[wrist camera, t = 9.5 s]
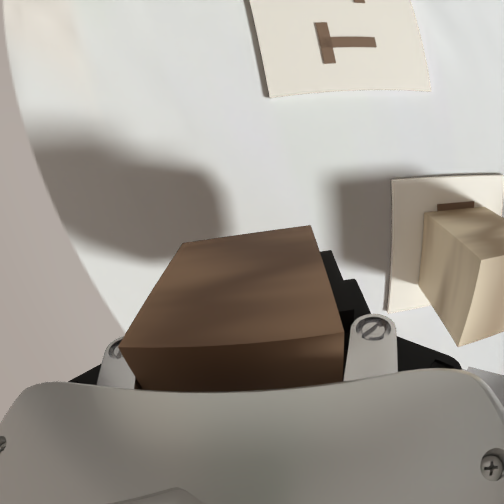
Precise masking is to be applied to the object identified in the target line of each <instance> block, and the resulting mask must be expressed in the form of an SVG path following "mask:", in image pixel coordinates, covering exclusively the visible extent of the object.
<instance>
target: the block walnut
mask: <svg viewBox="0 0 504 504" xmlns="http://www.w3.org/2000/svg"><path fill="white" fill-rule="evenodd" d="M118 348H119V350H120V352H121V354H122V355H123V357H124V359H125V361H126V362H127V364H128V366H129V367H130V369H131V371H132V372H133V374H134V376H135V377H136V379H137V381H138V382H139V384H140V385H141V387H142V388H143V390H155V391H180V392H230V391H254V390H270V389H283V388H294V387H304V386H312V385H321V384H328V383H335V382H342V377H343V357H344V329H343V326H342V322H341V319H340V315H339V312H338V309H337V305H336V302H335V299H334V295H333V292H332V289H331V286H330V282H329V279H328V276H327V273H326V270H325V267H324V264H323V260H322V257H321V254H320V251H319V248H318V245H317V242H316V239H315V237H314V234H313V231H312V228H311V225H309V226H301V227H293V228H286V229H278V230H271V231H264V232H257V233H249V234H242V235H235V236H228V237H221V238H214V239H207V240H201V241H194V242H187V243H183V244H182V245H181V247H180V248H179V250H178V251H177V253H176V254H175V256H174V257H173V259H172V260H171V262H170V263H169V265H168V266H167V268H166V269H165V271H164V272H163V274H162V276H161V277H160V279H159V280H158V282H157V283H156V285H155V287H154V288H153V290H152V291H151V293H150V294H149V296H148V298H147V299H146V301H145V303H144V304H143V306H142V307H141V309H140V311H139V312H138V314H137V316H136V317H135V319H134V321H133V322H132V324H131V326H130V327H129V329H128V331H127V332H126V334H125V336H124V337H123V339H122V341H121V343H120V344H119V346H118Z"/></svg>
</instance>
